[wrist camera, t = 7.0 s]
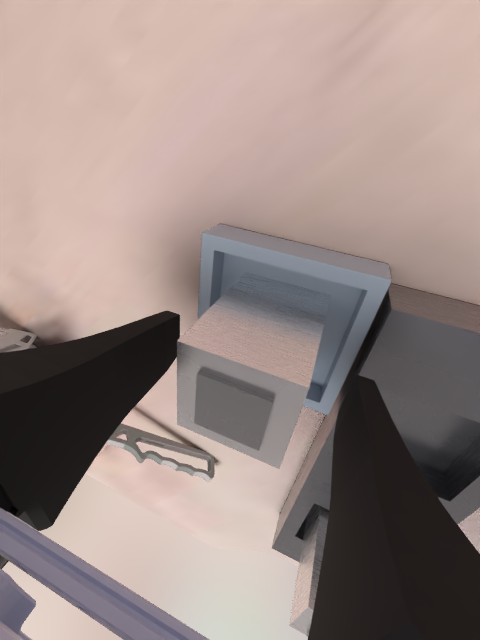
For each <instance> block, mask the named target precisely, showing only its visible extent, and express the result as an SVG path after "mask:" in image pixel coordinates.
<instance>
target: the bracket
mask: <svg viewBox="0 0 480 640" xmlns="http://www.w3.org/2000/svg"><path fill="white" fill-rule="evenodd" d="M0 332H5V333H7V334H6V335H1V334H0V353H2V352H10V351H18V350H25V349H28V348H37V347H36V346H35V345H32V343H33V342H34V340H35V339H36V337H37V336H36V335H35V334H33V333H30V332H25V331H20V330H16V329H11V328H10V329H4V328H0ZM26 336H31V337H32V338H31V339H30V340H29V342H28V343H24V342H21V341H20V340H22V339H23V338H25V337H26ZM122 434H125V435H126V437H127V441H126V440H122V439H119V438H116V437H117V436H119V435H122ZM136 442H142V443H146V444H150V445H153V446H157V447H160V448H164V449H168V450H171V451H175V452H178V453H182V454H186V455H189V456H193V457H196V458H200V459H204V460H207V462H208V471H206V470H203V469H196V468H194V467H192V466H191V465H188V464H182V463H179V462H177V461H176V460H174V459H171V458H166V457H162V456H161V455H159V454H158V453H157V452H154V451H147V452H145V453H142V452H141V451H140V449H139V448H138V446H137V444H136ZM106 444H108V445H112V446H115V447H119V448H122V449H125V450H127V451H129V452H131V453H132V454H133V455H134V456H135V457H136V459H137V461H138V462H139V463H142V462H143V461H144V460H145V459H147V458H149V459H152V460H154V461H155V462H157V463H158V464H160V465H167V466H170V467H172V468H173V469H174V470H176V471H184V472H187V473H188V474H190V475H191V476H199V477H202V478H203V479H205V481H206V482H209V481H210V480H211V479H212V478H213V477H214V457H213V456H212V455H210V454H209V453H207V452H205V451H202V450H199V449H196V448H193V447H190V446H187V445H184V444H181V443H178V442H175V441H172V440H169V439H166V438H163V437H160V436H157V435H154V434H151V433H148V432H145V431H142V430H139V429H136V428H133V427H130V426H127V425H124V424H121V423H120V425H119V426H118V427H117V429H116V430H115V431H114V433H113V434H112V435H111V437H110V438H109V439H108V441H107V442H106Z"/></svg>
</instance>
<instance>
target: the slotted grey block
mask: <svg viewBox="0 0 480 640" xmlns="http://www.w3.org/2000/svg"><path fill="white" fill-rule="evenodd" d="M328 517H329V510H328V509H326V508H324V507H321V506H319V505H317V504H315V503H314V504H313V506H312V508H311V509H310V511H309V513H308V514H307V518H306V524H305V530H304V537H303V543H302V549H301V556H300V562H299V568H298V575H297V581H296V587H295V594H294V600H293V606H292V612H291V619H290V626H291V627H293V628H295V629H297V630H298V631H300V632H302V633H304V634H305V635H307V636H309V631H310V626H311V620H312V615H313V609H314V604H315V598H316V592H317V587H318V581H319V575H320V569H321V563H322V557H323V550H324V544H325V538H326V531H327V524H328Z"/></svg>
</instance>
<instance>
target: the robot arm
mask: <svg viewBox="0 0 480 640" xmlns="http://www.w3.org/2000/svg"><path fill="white" fill-rule="evenodd" d="M179 338H180V315H179V314H176V313H173V312H170V311H164V312H161V313H158V314H155V315H152V316H149V317H146V318H143V319H141V320H138V321H135V322H132V323H129V324H126V325H123V326H121V327H118V328H114V329H111V330H108V331H105V332H102V333H98V334H95V335H92V336H88V337H85V338H81V339H77V340H72V341H68V342H64V343H59V344H54V345H48V346H43V347H37V348H31V349H25V350H18V351H10V352H2V353H0V555H1V556H3V557H4V558H5V559H7V560H8V561H10V562H11V563H13V564H14V565H16V566H17V567H19V568H20V569H21V570H23V571H24V572H26V573H27V574H29V575H30V576H32V577H33V578H35V579H36V580H38V581H39V582H41V583H42V584H43V585H45V586H46V587H48V588H49V589H51V590H52V591H54V592H55V593H56V594H58V595H59V596H61V597H62V598H64V599H65V600H67V601H68V602H70V603H71V604H72V605H74V606H75V607H77V608H78V609H80V610H81V611H83V612H84V613H86V614H87V615H89V616H90V617H92V618H93V619H95V620H96V621H97V622H99V623H100V624H102V625H103V626H105V627H106V628H108V629H109V630H110V631H112V632H113V633H115V634H116V635H118V636H119V637H121V638H122V639H124V640H209V639H207V638H206V637H204V636H203V635H201V634H200V633H198V632H196V631H195V630H193V629H192V628H190V627H188V626H186V625H185V624H184V623H182V622H180V621H179V620H177V619H176V618H174V617H173V616H171V615H169V614H168V613H166V612H165V611H163V610H161V609H160V608H158V607H157V606H155V605H154V604H152V603H150V602H149V601H147V600H145V599H144V598H143V597H141V596H139V595H138V594H136V593H135V592H133V591H131V590H130V589H128V588H126V587H125V586H124V585H122V584H120V583H119V582H117V581H116V580H114V579H112V578H111V577H109V576H108V575H106V574H104V573H103V572H101V571H100V570H98V569H97V568H95V567H93V566H92V565H90V564H89V563H87V562H85V561H84V560H82V559H81V558H79V557H77V556H76V555H74V554H73V553H71V552H70V551H68V550H66V549H65V548H63V547H62V546H60V545H59V544H57V543H55V542H54V541H52V540H51V539H49V538H47V537H46V536H44V535H42V534H41V533H40V532H38V531H41V530H44V529H47V528H49V527H50V526H52V525H53V524H54V522H55V520H56V519H57V517H58V515H59V513H60V512H61V510H62V509H63V507H64V505H65V504H66V502H67V501H68V499H69V497H70V496H71V494H72V492H73V491H74V489H75V488H76V486H77V484H78V483H79V482H80V480H81V479H82V477H83V476H84V474H85V473H86V471H87V470H88V468H89V467H90V465H91V464H92V462H93V461H94V459H95V458H96V456H97V455H98V453H99V452H100V451H101V449H102V448H103V446H104V445H105V444H106V442H107V441H108V439H109V438H110V437H111V435H112V434H113V433H114V431H115V430H116V429H117V427H118V426H119V425H120V423H121V422H122V421H123V419H124V418H125V417H126V416H127V414H128V413H129V412H130V411H131V410H132V409H133V408H134V406H135V405H136V404H137V403H138V402H139V401H140V400H141V399H142V398H143V397H144V396H145V394H146V393H147V392H148V391H149V390H150V389H151V388H152V387H153V386H154V385H155V384H156V382H157V381H158V380H159V379H160V378H161V377H162V376H163V375H164V374H165V372H166V371H167V370H168V369H169V367H170V366H171V364H172V363H173V361H174V360H175V358H176V357H177V340H178V339H179ZM8 512H9V513H10V514H9V513H8ZM11 514H12V515H11ZM13 515H14V516H15V517H14V516H13ZM16 517H17V518H19V519H20V520H19V519H17V518H16ZM21 520H22V521H23V522H22V521H21ZM24 522H25V523H26V524H25V523H24ZM27 524H28V525H30V526H31V527H30V526H28V525H27ZM32 527H33V528H34V529H33V528H32ZM35 529H36V530H38V531H36V530H35ZM35 605H36V601H35V600H34V599H33V598H32V597H30V596H29V595H28V594H27V593H26V592H25V591H24V590H23V589H22V588H20V587H19V586H18V585H17V584H16V583H15V582H14V580H13V579H12V578H11V577H10V576H9V575H8V574H7V573H5V572H4V571H3V570H2V569H0V640H32V639H31V638H29V637H28V636H26V635H25V634H24V633H22V632H21V631H20V629H21V626H22V624H23V623H24V621H25V620H26V618H27V617H28V616H29V614H30V613H31V612H32V610H33V609H34V607H35ZM308 640H480V554H479V552H478V551H477V550H476V549H475V547H474V546H473V545H472V544H471V542H470V541H469V540H468V538H467V537H466V536H465V534H464V533H463V532H462V530H461V529H460V528H459V526H458V525H457V524H456V522H455V521H454V520H453V518H452V517H451V516H450V514H449V513H448V511H447V510H446V509H445V507H444V506H443V504H442V503H441V501H440V500H439V498H438V497H437V495H436V494H435V492H434V491H433V489H432V488H431V486H430V485H429V483H428V482H427V480H426V479H425V477H424V476H423V474H422V473H421V471H420V469H419V468H418V466H417V464H416V463H415V461H414V459H413V457H412V456H411V454H410V452H409V450H408V449H407V447H406V445H405V443H404V441H403V439H402V437H401V435H400V433H399V431H398V430H397V428H396V426H395V424H394V422H393V420H392V417H391V415H390V413H389V411H388V409H387V407H386V405H385V402H384V400H383V398H382V396H381V393H380V391H379V389H378V387H377V384H376V382H375V381H374V380H372V379H369V378H366V377H363V376H360V375H356V377H355V379H354V381H353V383H352V385H351V387H350V389H349V391H348V393H347V395H346V397H345V399H344V401H343V403H342V405H341V407H340V409H339V411H338V415H337V421H336V426H335V432H334V439H333V456H332V477H331V497H330V509H329V517H328V524H327V531H326V538H325V544H324V550H323V557H322V563H321V569H320V575H319V581H318V587H317V592H316V598H315V604H314V609H313V615H312V620H311V626H310V631H309V636H308Z"/></svg>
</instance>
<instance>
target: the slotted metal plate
mask: <svg viewBox="0 0 480 640" xmlns="http://www.w3.org/2000/svg"><path fill="white" fill-rule="evenodd" d="M356 375H360V376H363V377H366V378H369V379H372V380H374V381H375V382H376V384H377V387H378V389H379V391H380V393H381V396H382V398H383V400H384V402H385V405H386V407H387V409H388V411H389V413H390V415H391V417H392V420H393V422H394V424H395V426H396V428H397V430H398V431H399V433H400V435H401V437H402V439H403V441H404V443H405V445H406V447H407V449H408V450H409V452H410V454H411V456H412V457H413V459H414V461H415V463H416V464H417V466H418V468H419V469H420V471H421V473H422V474H423V476H424V477H425V479H426V480H427V482H428V483H429V485H430V486H431V488H432V489H433V491H434V492H435V494H436V495H437V497H438V498H439V500H440V501H441V503H442V504H443V506H444V507H445V509H446V510H447V511H448V513H449V514H450V516H451V517H452V518H453V520H454V521H455V522H456V524H458V523H460V522H461V521H462V520H464V519H465V518H466V517H468V516H469V515H470V514H472V513H473V512H474V511H476V510H477V509H478V508H479V507H480V306H478V305H474V304H470V303H467V302H463V301H459V300H455V299H451V298H447V297H443V296H439V295H435V294H431V293H427V292H423V291H419V290H415V289H411V288H407V287H404V286H400V285H396V284H392V283H390V285H389V287H388V290H387V292H386V294H385V296H384V298H383V300H382V302H381V304H380V307H379V309H378V311H377V313H376V315H375V317H374V319H373V321H372V323H371V326H370V328H369V330H368V332H367V334H366V336H365V338H364V340H363V343H362V345H361V347H360V349H359V351H358V353H357V355H356V357H355V360H354V362H353V364H352V366H351V368H350V370H349V372H348V374H347V377H346V379H345V381H344V383H343V385H342V387H341V389H340V391H339V394H338V396H337V398H336V400H335V402H334V404H333V406H332V408H331V410H330V413H329V415H325V418H324V420H323V422H322V424H321V426H320V428H319V430H318V433H317V435H316V437H315V439H314V441H313V443H312V446H311V448H310V450H309V452H308V454H307V456H306V459H305V461H304V463H303V465H302V467H301V469H300V472H299V474H298V476H297V478H296V480H295V482H294V484H293V487H292V489H291V491H290V493H289V495H288V497H287V500H286V502H285V504H284V506H283V508H282V510H281V513H280V515H279V519H278V523H277V528H276V532H275V536H274V540H273V545H272V548H273V549H275V550H277V551H279V552H281V553H282V554H284V555H286V556H288V557H290V558H292V559H294V560H296V561H298V562H300V556H301V549H302V543H303V537H304V530H305V524H306V518H307V514H308V513H309V511H310V509H311V508H312V506H313V504H314V503H315V504H317V505H319V506H321V507H324V508H326V509H328V510H329V509H330V497H331V477H332V456H333V439H334V432H335V426H336V421H337V415H338V411H339V409H340V407H341V405H342V403H343V401H344V399H345V397H346V395H347V393H348V391H349V389H350V387H351V385H352V383H353V381H354V379H355V377H356Z"/></svg>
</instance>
